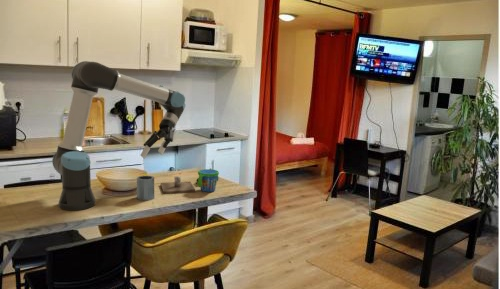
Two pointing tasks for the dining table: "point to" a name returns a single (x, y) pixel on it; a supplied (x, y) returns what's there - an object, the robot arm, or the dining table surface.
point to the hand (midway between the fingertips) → (151, 154)
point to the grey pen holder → (145, 188)
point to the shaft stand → (177, 186)
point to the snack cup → (207, 179)
